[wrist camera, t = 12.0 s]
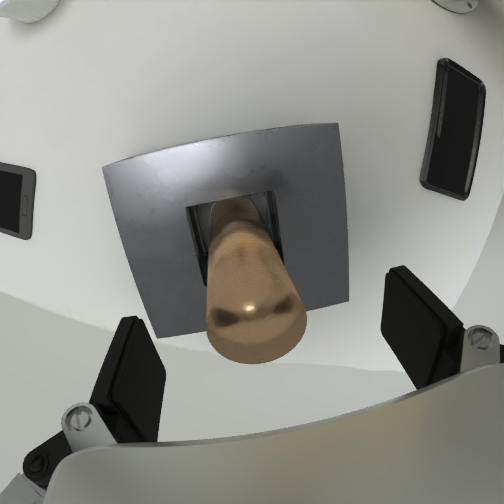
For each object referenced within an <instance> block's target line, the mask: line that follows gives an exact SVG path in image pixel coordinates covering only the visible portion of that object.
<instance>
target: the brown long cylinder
mask: <svg viewBox="0 0 504 504" xmlns="http://www.w3.org/2000/svg"><path fill="white" fill-rule="evenodd" d="M306 324H307V316H306V311H305V308H304V305H303V303H302V301H301V299H300V297H299V295H298V293H297V291H296V289H295V287H294V285H293V283H292V281H291V279H290V277H289V275H288V272H287V270H286V268H285V266H284V264H283V262H282V260H281V258H280V256H279V254H278V252H277V250H276V248H275V246H274V244H273V242H272V240H271V238H270V236H269V234H268V232H267V230H266V228H265V226H264V224H263V222H262V220H261V218H260V216H259V214H258V212H257V210H256V208H255V206H254V204H253V203H252V202H251V200H250V199H248V198H247V197H245V196H239V197H234V198H229V199H223V200H218V201H216V202H215V203H214V205H213V207H212V210H211V215H210V233H209V254H208V279H207V313H206V332H207V336H208V339H209V341H210V343H211V345H212V346H213V347H214V349H215V350H216V351H217V352H218V353H219V354H221V355H222V356H224V357H226V358H227V359H229V360H232V361H235V362H238V363H244V364H261V363H266V362H270V361H273V360H276V359H278V358H280V357H282V356H284V355H285V354H287V353H288V352H289V351H291V350H292V349H293V348H294V347H295V346H296V345H297V344H298V342H299V341H300V340H301V338H302V336H303V334H304V332H305V329H306Z"/></svg>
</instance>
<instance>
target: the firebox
mask: <svg viewBox="0 0 504 504" xmlns="http://www.w3.org/2000/svg"><path fill="white" fill-rule="evenodd" d="M102 170H103V174H104V178H105V183H106V187H107V191H108V194H109V198H110V202H111V206H112V209H113V213H114V217H115V220H116V224H117V227H118V230H119V234H120V237H121V240H122V244H123V247H124V250H125V253H126V256H127V259H128V262H129V265H130V268H131V271H132V274H133V277H134V280H135V283H136V285H137V288H138V291H139V294H140V296H141V299H142V302H143V304H144V307H145V310H146V312H147V315H148V317H149V320H150V322H151V325H152V327H153V330H154V332H155V335H156V337H157V339H158V338H165V337H172V336H178V335H185V334H191V333H198V332H204V331H206V313H207V279H208V254H206V252H205V247H204V243H203V239H202V234H201V230H200V226H199V221H198V217H197V212H196V208H195V205H198V204H203V203H208V202H213V201H218V200H223V199H229V198H234V197H239V196H245V195H250V194H256V193H261V192H264V196H265V203H266V210H267V216H268V223H269V230H270V237H271V240H272V242H273V244H274V246H275V248H276V250H277V252H278V254H279V256H280V258H281V260H282V262H283V264H284V266H285V268H286V270H287V272H288V275H289V277H290V279H291V281H292V283H293V285H294V287H295V289H296V291H297V293H298V295H299V297H300V299H301V301H302V303H303V305H304V308H305V311H310V310H314V309H318V308H323V307H327V306H331V305H335V304H339V303H343V302H347V301H349V259H348V230H347V211H346V196H345V183H344V171H343V161H342V151H341V142H340V134H339V126H338V123H319V124H305V125H296V126H287V127H279V128H271V129H264V130H257V131H251V132H245V133H238V134H233V135H227V136H221V137H216V138H211V139H206V140H201V141H196V142H191V143H187V144H182V145H178V146H173V147H169V148H165V149H161V150H157V151H153V152H149V153H145V154H141V155H137V156H134V157H130V158H126V159H123V160H121V161H118V162H115V163H112V164H109V165H106V166H104V167H102Z"/></svg>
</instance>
